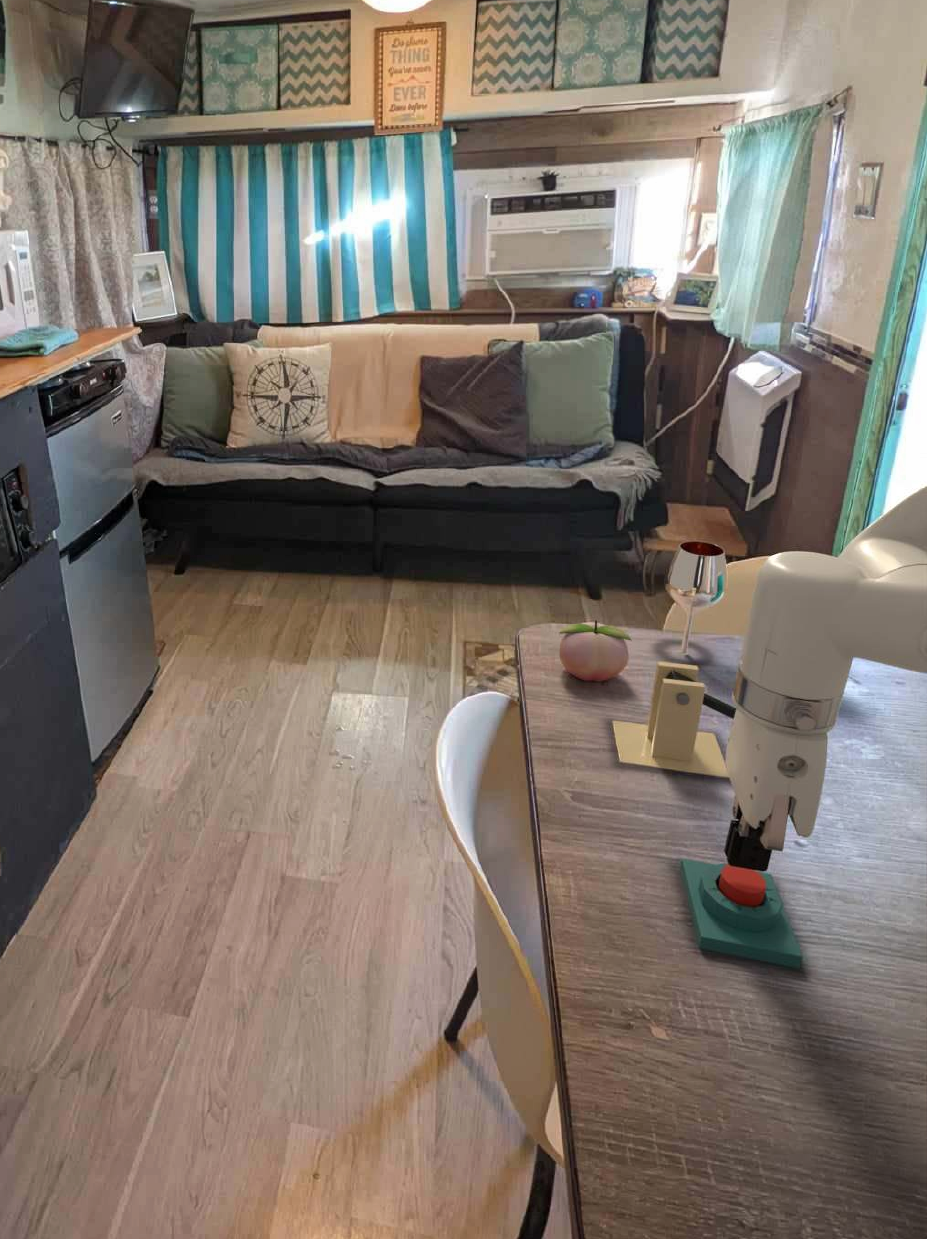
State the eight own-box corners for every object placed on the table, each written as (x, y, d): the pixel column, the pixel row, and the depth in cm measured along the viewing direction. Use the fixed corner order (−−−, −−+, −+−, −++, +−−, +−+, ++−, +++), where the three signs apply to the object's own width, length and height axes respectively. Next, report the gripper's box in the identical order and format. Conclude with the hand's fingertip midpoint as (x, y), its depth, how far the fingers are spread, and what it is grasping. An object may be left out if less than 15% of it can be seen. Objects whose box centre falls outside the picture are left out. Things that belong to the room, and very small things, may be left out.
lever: (753, 723, 99) (765, 709, 98) (764, 747, 95) (777, 733, 94) (658, 677, 101) (669, 663, 100) (665, 699, 97) (676, 684, 96)
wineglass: (652, 640, 128) (669, 534, 121) (712, 649, 124) (732, 541, 118) (652, 665, 121) (670, 555, 115) (714, 676, 118) (736, 563, 111)
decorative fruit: (615, 667, 121) (623, 607, 118) (629, 697, 114) (639, 635, 110) (549, 664, 123) (555, 605, 119) (559, 693, 115) (566, 631, 112)
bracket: (712, 741, 104) (728, 661, 100) (729, 785, 96) (747, 700, 92) (611, 727, 107) (622, 649, 103) (618, 769, 99) (631, 687, 95)
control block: (767, 890, 81) (774, 859, 80) (797, 974, 72) (806, 941, 71) (678, 874, 84) (684, 844, 82) (697, 954, 75) (704, 921, 73)
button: (757, 882, 78) (760, 867, 77) (767, 911, 75) (771, 896, 74) (715, 874, 79) (718, 860, 78) (723, 902, 76) (726, 888, 75)
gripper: (871, 754, 61) (817, 935, 68) (808, 656, 74) (768, 816, 81) (758, 739, 63) (716, 916, 70) (716, 646, 77) (685, 802, 83)
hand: (744, 862), depth 76 cm, fingers closed
